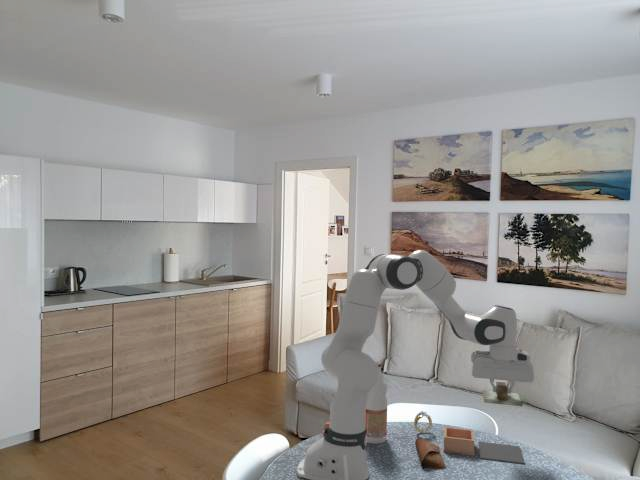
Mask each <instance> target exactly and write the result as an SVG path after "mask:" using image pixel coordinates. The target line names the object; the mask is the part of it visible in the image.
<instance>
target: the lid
mask: <svg viewBox="0 0 640 480" xmlns="http://www.w3.org/2000/svg"><path fill="white" fill-rule="evenodd" d="M495 386H497V392H493V390H486V389H485V390H484V389H482V391H481V393H482V397H483V402H484V403H485V404H493V405H494V404H495V405H505V406H515V407H516V406H517V407H523V402H522V400H521V397H520V395H519V393H516V392H511V394H508V388H507V387H508V386H507V384H506V382H504V381H496V382H495Z"/></svg>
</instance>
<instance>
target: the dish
mask: <svg viewBox="0 0 640 480" xmlns="http://www.w3.org/2000/svg"><path fill="white" fill-rule="evenodd" d="M443 429H444V434H443V452H444V453H452V454H459V455H460V454H461V455H467V456H468V455H469V456H475V434H474V429H468V428H460V427H459V428H457V427H449V426H444V428H443Z"/></svg>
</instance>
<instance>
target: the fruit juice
mask: <svg viewBox="0 0 640 480" xmlns="http://www.w3.org/2000/svg"><path fill="white" fill-rule="evenodd" d="M374 361H375V362H376V363H377V365H378V367H379V371H380V375H379V379H378V381H377V383H376V385H375V386H374V387H373V388H371V390H370V392H369V395H368V399H367V404H366V422H365V427H366V429H367V444H372V445H377V444H378V445H380V444H383V443H385V442H386V440H387V435H388V434H387V432H388V431H387V427H388V425H387V424H388V399H387V396H386V395H387V391H388V383H387V382H386V380H385V379H384V377H383V373H382V368H383V363H382V362H381V361H376V360H374Z"/></svg>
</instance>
